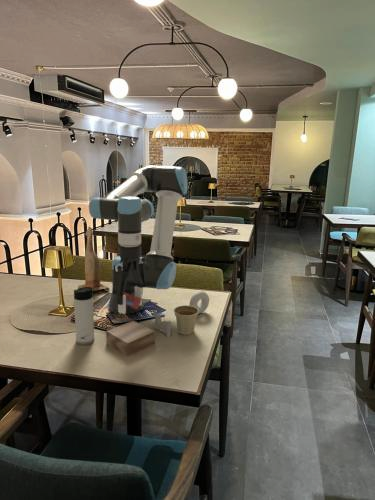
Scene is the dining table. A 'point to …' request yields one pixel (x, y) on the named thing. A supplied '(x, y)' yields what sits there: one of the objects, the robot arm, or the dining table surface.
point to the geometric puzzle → (132, 300)
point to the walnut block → (130, 337)
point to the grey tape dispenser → (162, 325)
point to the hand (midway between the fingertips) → (130, 308)
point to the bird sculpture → (92, 266)
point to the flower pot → (186, 318)
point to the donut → (204, 301)
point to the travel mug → (84, 315)
